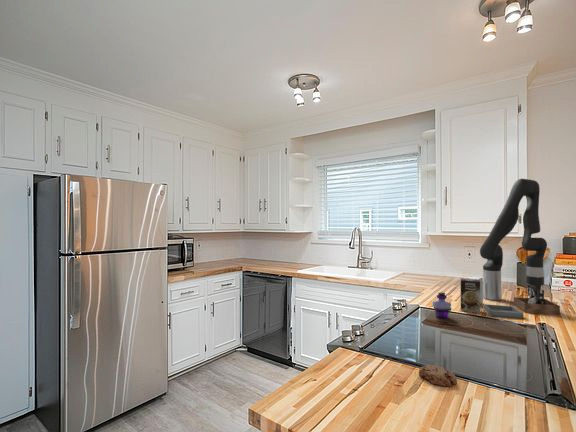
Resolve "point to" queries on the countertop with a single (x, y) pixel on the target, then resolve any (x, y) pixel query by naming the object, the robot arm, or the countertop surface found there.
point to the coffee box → (470, 295)
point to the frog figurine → (533, 301)
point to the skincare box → (480, 286)
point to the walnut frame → (537, 306)
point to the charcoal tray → (503, 311)
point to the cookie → (438, 375)
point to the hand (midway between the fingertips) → (535, 306)
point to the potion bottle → (442, 306)
